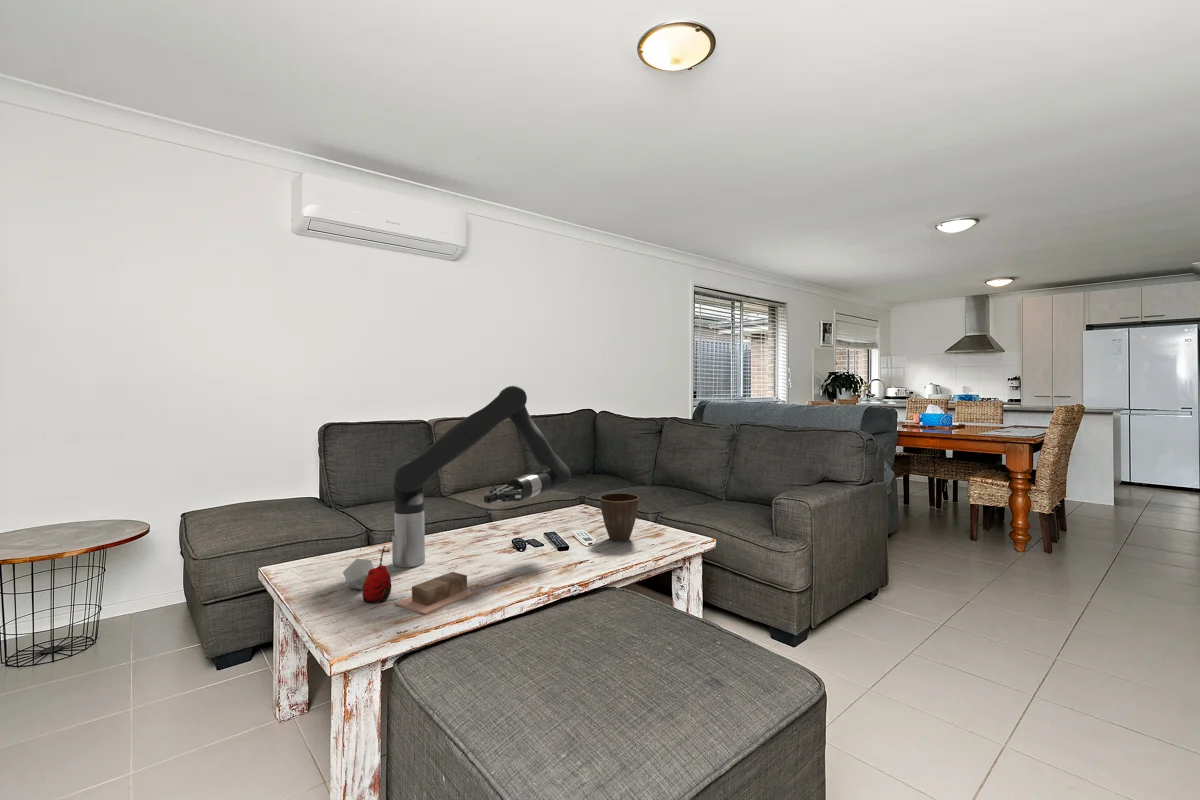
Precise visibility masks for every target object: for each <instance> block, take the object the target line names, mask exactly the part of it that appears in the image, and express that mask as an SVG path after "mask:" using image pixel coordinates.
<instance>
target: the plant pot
mask: <svg viewBox="0 0 1200 800" xmlns="http://www.w3.org/2000/svg"><path fill="white" fill-rule="evenodd" d="M639 499H640V497H639V496H638V495H636V494H632V493H623V492H621V493H619V492H618V493H609V494H608V493H607V494H603V495H601V496H599V503H600V509H601V510H600V511H601V514H602V519H603V522H604V526H605V529H606V533H607V535H608V538H609V540H610V541H611V542H616V541H624V542H627V540H628V541H629V540H630V539H631V535H632V532H633V529H634V527H635V523H636V519H637V514H638V507H639Z"/></svg>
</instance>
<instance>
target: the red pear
mask: <svg viewBox="0 0 1200 800" xmlns="http://www.w3.org/2000/svg"><path fill="white" fill-rule="evenodd" d="M385 548H386V545H384V546H383V548H382V549H381V548H378V550H379V551H380V552H381V555H380V556H381V557H380V558H379V565H378V566H377V567H374V569H370V570H369V571H368V575H367V577H366V579H365V581H364V584H363V586H362V589H363V590H362V594H361V595H362V601H363V602H365V603H370V604H373V603H374V604H376V603H381V602H384V601H386V600H388V599H389V597H390V595H391V592H392V578H391V575H390V572H389V571H388V569H387V565H384V564H383V565H382V563H383V555H384V553H390V551H391V550H390V549H387V550H385Z"/></svg>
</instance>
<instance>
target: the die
mask: <svg viewBox="0 0 1200 800" xmlns="http://www.w3.org/2000/svg"><path fill="white" fill-rule="evenodd" d="M372 562H373V561H372V560H370V559H363V558H356V559H354V561H353V562H352V563H350V565H348V566H347V567H346V569H344V571H342V574H343V576H344V578H345V581H346V582H347V585H348V587H349V589H355V590H360V591H361V590H362V591H363V589H362V586H363V584H364V581H365V579H366V577H367V575H368V571H369V570H370V569H374V568H375V567H374V565H373V563H372Z"/></svg>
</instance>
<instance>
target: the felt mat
mask: <svg viewBox="0 0 1200 800" xmlns="http://www.w3.org/2000/svg"><path fill="white" fill-rule="evenodd" d="M472 593H473V592H471V591H467V590H465V591H462V592H460V593H457V594H455V595H453V596H450V597H448V598H445V599H443V600H441V601H438V602H436V603H433V604H431V605H429V606H425V605H422V604H419V603H416V602H413V601H412V596H409V597H407V598H404V599H401V600H399V601H396V602H395V603H394V604H395V605H396V606H398V607H401V608H403V609H407V610H409V611H413V612H415V613H418V614H422V615H424V616H425V615H428V614H430V613H432V612H435V611H437V610H440V609H442V608H444V607H446V606H448V605H449V606H450V605H451V604H454V603H456V602H458V601H460V600H463V599H465V598H467V597H470V596H472V595H473V594H472Z"/></svg>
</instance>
